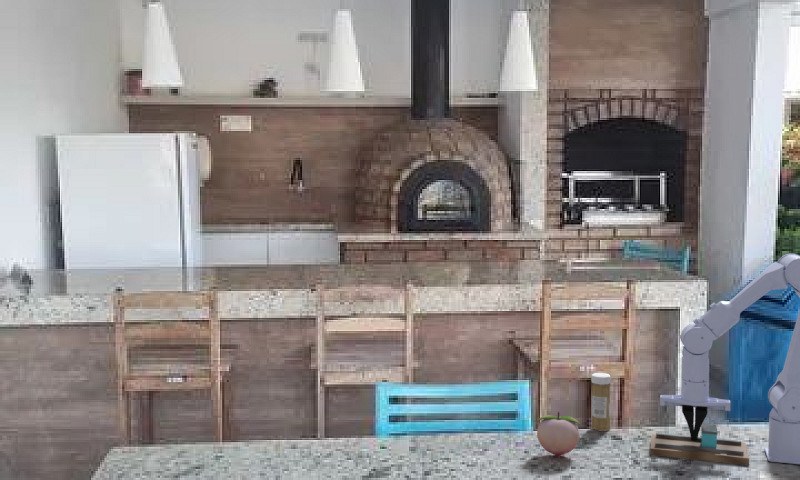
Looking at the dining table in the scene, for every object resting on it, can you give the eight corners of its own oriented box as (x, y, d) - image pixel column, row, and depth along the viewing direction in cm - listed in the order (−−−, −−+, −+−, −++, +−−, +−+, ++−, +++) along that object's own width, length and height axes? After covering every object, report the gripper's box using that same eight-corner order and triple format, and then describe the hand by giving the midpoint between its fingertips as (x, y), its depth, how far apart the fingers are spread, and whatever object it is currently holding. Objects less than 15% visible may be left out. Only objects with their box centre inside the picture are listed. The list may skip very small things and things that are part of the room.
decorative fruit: (539, 463, 170) (540, 418, 169) (534, 450, 178) (534, 407, 177) (583, 463, 170) (584, 418, 169) (576, 450, 178) (576, 406, 177)
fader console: (745, 449, 177) (745, 439, 177) (749, 465, 168) (749, 454, 168) (651, 440, 184) (651, 430, 184) (650, 455, 174) (650, 444, 174)
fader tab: (716, 442, 177) (716, 424, 177) (717, 449, 172) (717, 432, 172) (700, 440, 178) (701, 423, 178) (701, 448, 173) (701, 430, 173)
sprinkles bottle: (613, 428, 192) (614, 374, 191) (603, 433, 189) (604, 378, 188) (597, 424, 196) (598, 371, 195) (587, 428, 193) (587, 374, 191)
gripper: (729, 377, 176) (728, 436, 177) (660, 372, 181) (660, 430, 182) (731, 385, 169) (730, 446, 171) (660, 380, 174) (659, 440, 175)
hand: (694, 439), depth 176 cm, fingers closed
